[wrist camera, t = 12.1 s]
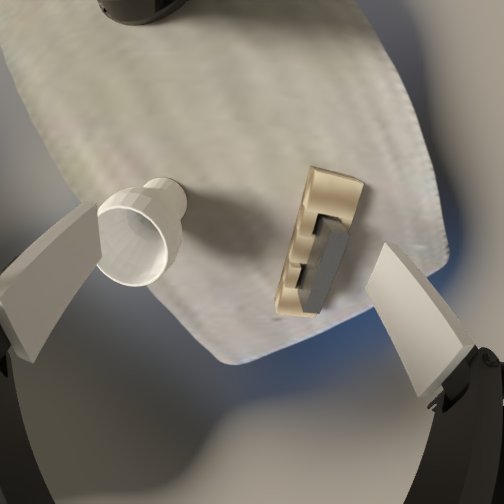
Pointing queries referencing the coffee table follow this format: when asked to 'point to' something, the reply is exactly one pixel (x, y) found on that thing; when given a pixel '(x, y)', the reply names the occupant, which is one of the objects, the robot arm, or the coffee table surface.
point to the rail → (313, 203)
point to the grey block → (321, 263)
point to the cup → (141, 231)
